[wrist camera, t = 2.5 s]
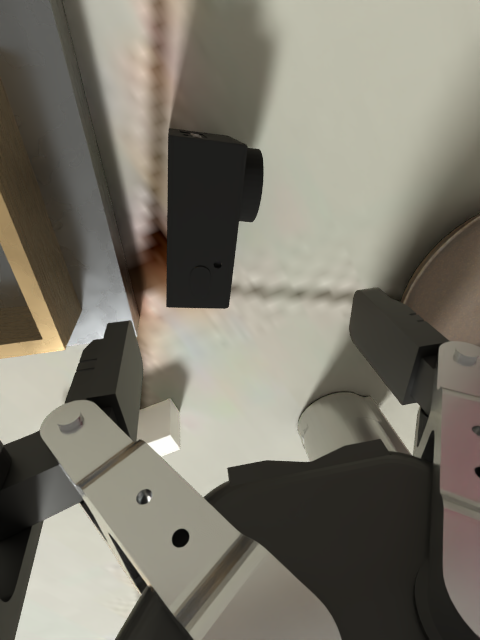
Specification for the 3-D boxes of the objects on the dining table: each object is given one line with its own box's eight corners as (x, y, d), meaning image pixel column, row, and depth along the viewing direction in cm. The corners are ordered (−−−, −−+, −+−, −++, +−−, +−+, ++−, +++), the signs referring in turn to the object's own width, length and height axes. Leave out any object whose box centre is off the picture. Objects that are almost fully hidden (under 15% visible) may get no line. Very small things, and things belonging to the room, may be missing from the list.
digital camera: (230, 271, 30) (245, 311, 24) (167, 268, 29) (166, 309, 23) (246, 137, 24) (269, 147, 19) (169, 127, 23) (168, 134, 18)
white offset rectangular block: (50, 447, 38) (32, 496, 33) (60, 368, 33) (40, 413, 28) (183, 457, 42) (184, 502, 37) (210, 390, 37) (215, 431, 32)
